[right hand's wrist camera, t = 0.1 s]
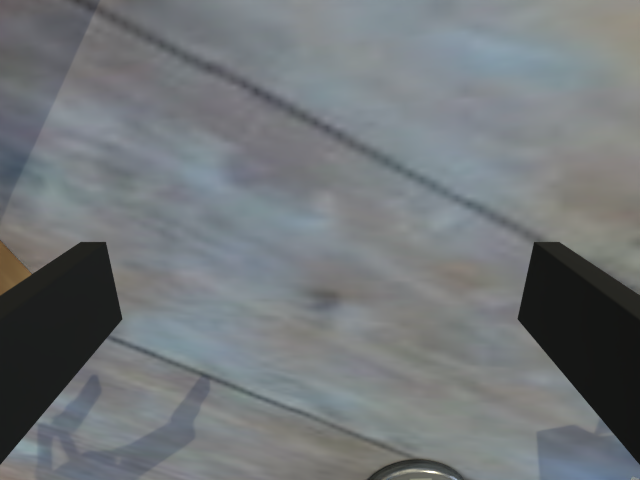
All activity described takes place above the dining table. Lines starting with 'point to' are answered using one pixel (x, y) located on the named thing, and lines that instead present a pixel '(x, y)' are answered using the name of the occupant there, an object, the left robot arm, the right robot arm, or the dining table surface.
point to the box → (10, 270)
